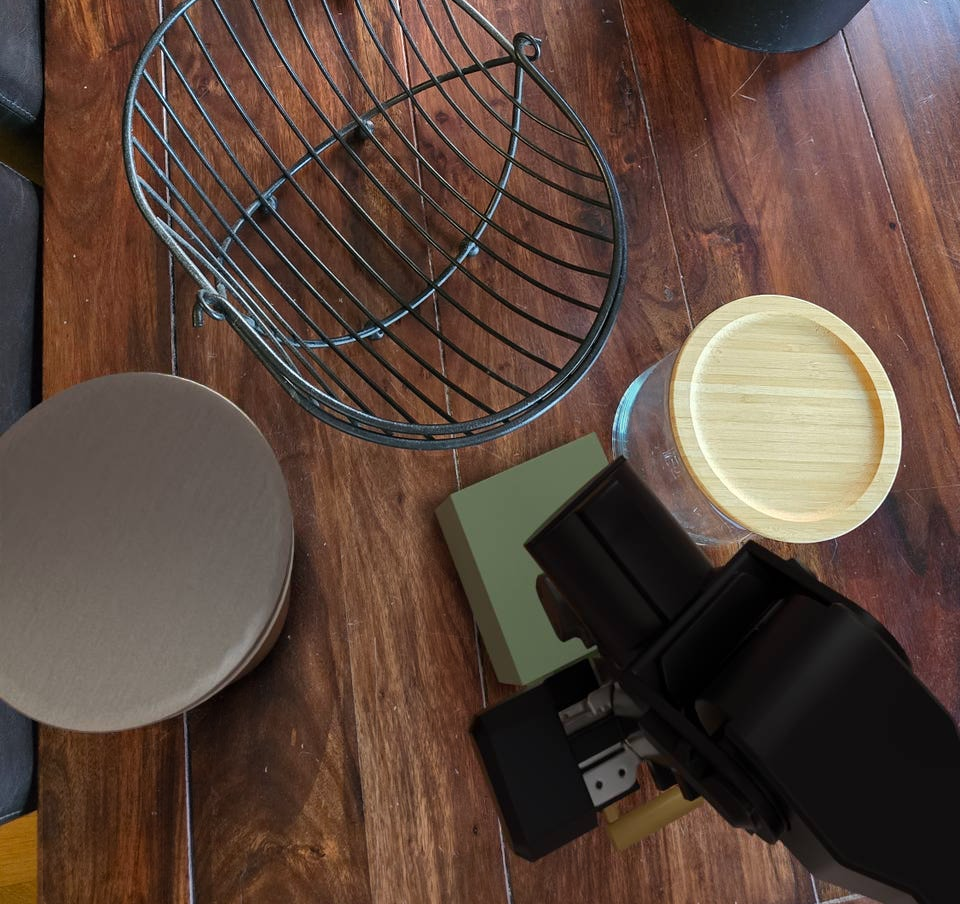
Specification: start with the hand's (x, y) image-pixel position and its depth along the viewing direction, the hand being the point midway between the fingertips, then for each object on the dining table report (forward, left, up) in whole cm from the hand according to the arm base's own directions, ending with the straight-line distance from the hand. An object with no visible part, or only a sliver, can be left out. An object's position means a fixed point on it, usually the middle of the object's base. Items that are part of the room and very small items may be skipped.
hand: (622, 693), depth 62 cm
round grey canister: (+14, +20, -9) cm, 26 cm away
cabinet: (+8, 0, -9) cm, 12 cm away
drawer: (-1, 0, -8) cm, 8 cm away
